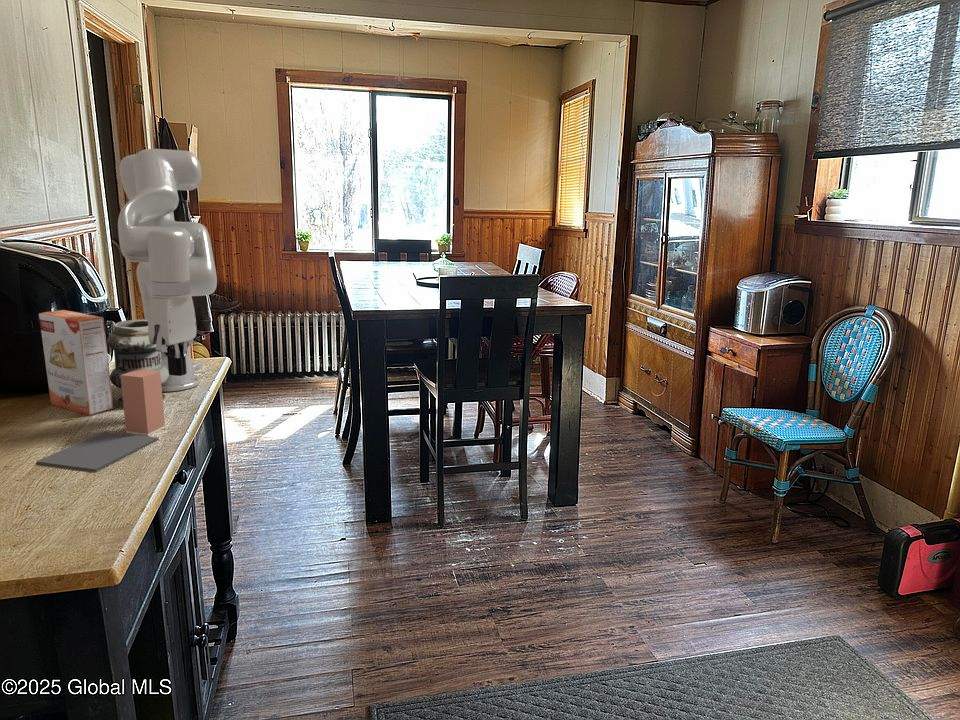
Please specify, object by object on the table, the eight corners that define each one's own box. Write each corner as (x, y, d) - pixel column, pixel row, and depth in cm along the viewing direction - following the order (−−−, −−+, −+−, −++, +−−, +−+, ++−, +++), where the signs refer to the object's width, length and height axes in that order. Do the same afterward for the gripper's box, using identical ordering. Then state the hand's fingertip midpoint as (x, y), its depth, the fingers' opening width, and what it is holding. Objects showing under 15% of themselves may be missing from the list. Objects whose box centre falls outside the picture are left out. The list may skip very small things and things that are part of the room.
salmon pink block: (143, 425, 136) (138, 368, 133) (164, 427, 135) (160, 371, 132) (126, 433, 131) (120, 375, 128) (148, 435, 130) (142, 377, 127)
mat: (105, 433, 131) (105, 431, 130) (158, 440, 128) (158, 437, 128) (36, 464, 115) (36, 461, 115) (95, 472, 113) (95, 469, 113)
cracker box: (48, 405, 146) (36, 312, 141) (75, 398, 151) (65, 308, 146) (87, 417, 140) (76, 320, 134) (114, 409, 145) (105, 315, 140)
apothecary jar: (133, 411, 144) (125, 330, 140) (100, 401, 150) (92, 323, 145) (182, 397, 154) (176, 322, 150) (149, 388, 160) (143, 315, 156)
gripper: (178, 284, 145) (184, 365, 149) (129, 292, 131) (138, 381, 135) (208, 286, 143) (214, 368, 148) (162, 294, 129) (170, 384, 133)
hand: (177, 374), depth 141 cm, fingers closed
